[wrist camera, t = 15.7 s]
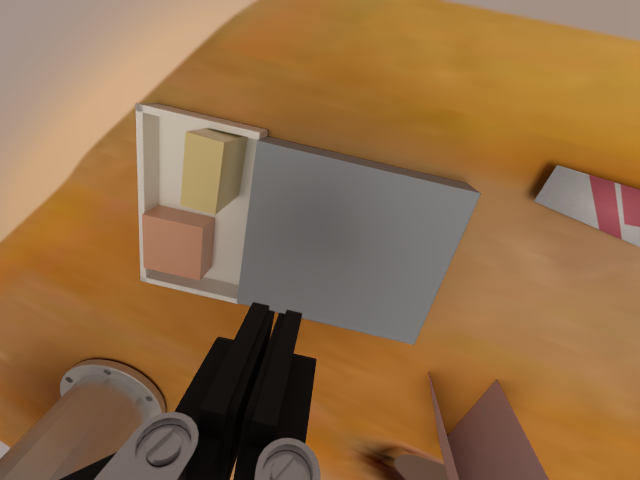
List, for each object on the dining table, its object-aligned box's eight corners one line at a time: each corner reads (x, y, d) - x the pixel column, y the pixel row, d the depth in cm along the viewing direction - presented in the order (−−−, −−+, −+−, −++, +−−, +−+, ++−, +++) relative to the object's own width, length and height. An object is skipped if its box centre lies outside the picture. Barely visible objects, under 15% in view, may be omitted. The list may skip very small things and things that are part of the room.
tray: (246, 289, 31) (237, 304, 28) (156, 267, 31) (140, 281, 28) (268, 129, 24) (259, 132, 22) (155, 103, 25) (135, 103, 22)
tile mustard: (215, 214, 22) (180, 205, 22) (239, 195, 26) (210, 187, 26) (224, 142, 20) (185, 131, 20) (248, 134, 24) (216, 126, 24)
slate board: (408, 323, 30) (414, 344, 28) (247, 284, 30) (236, 302, 28) (466, 183, 25) (480, 193, 22) (267, 136, 25) (256, 140, 22)
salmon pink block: (143, 267, 27) (159, 254, 30) (200, 280, 27) (211, 266, 30) (141, 214, 25) (159, 205, 28) (202, 228, 25) (215, 217, 28)
